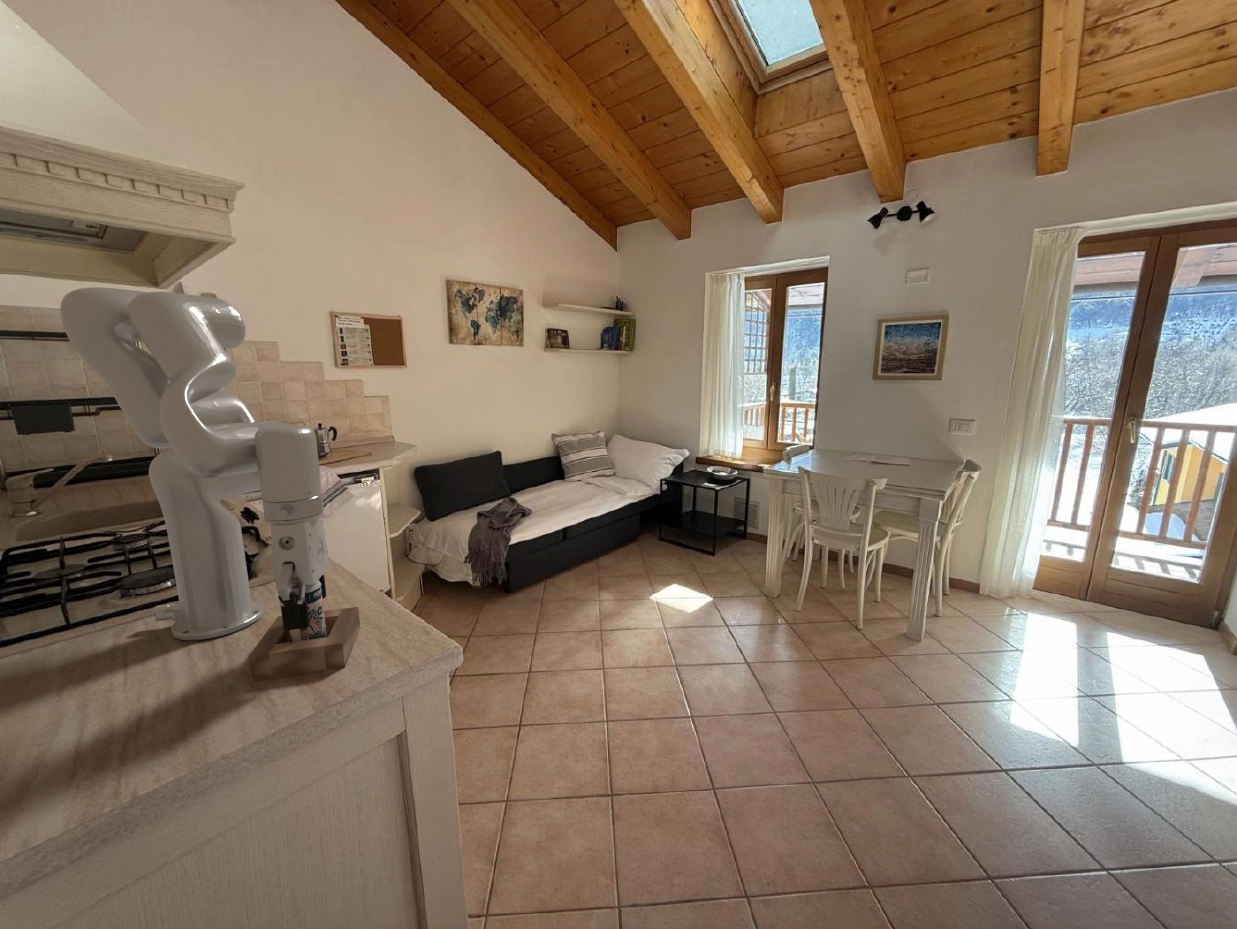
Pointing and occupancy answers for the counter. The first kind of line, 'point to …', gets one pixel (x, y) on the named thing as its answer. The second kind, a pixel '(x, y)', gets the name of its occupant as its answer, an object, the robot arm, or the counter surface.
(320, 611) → the beer can
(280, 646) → the walnut socket block
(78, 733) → the counter surface
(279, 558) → the robot arm
